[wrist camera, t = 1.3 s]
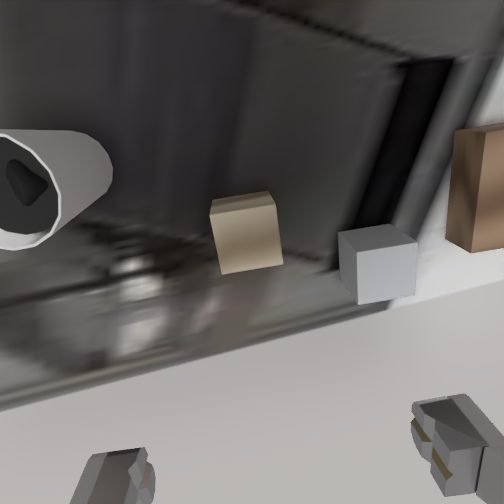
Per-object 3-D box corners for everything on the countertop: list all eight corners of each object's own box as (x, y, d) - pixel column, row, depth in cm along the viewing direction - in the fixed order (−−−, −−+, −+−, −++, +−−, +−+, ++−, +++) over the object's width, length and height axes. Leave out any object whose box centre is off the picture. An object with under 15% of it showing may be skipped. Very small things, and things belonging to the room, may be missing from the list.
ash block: (212, 199, 29) (209, 215, 24) (268, 190, 29) (275, 204, 24) (223, 250, 31) (221, 274, 26) (275, 242, 31) (283, 264, 26)
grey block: (337, 232, 31) (356, 252, 26) (389, 223, 31) (417, 242, 26) (339, 278, 33) (358, 304, 28) (388, 270, 33) (415, 295, 28)
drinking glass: (65, 105, 25) (-30, 98, 16) (135, 168, 27) (86, 194, 18) (18, 167, 27) (-95, 193, 17) (87, 222, 29) (19, 271, 19)
